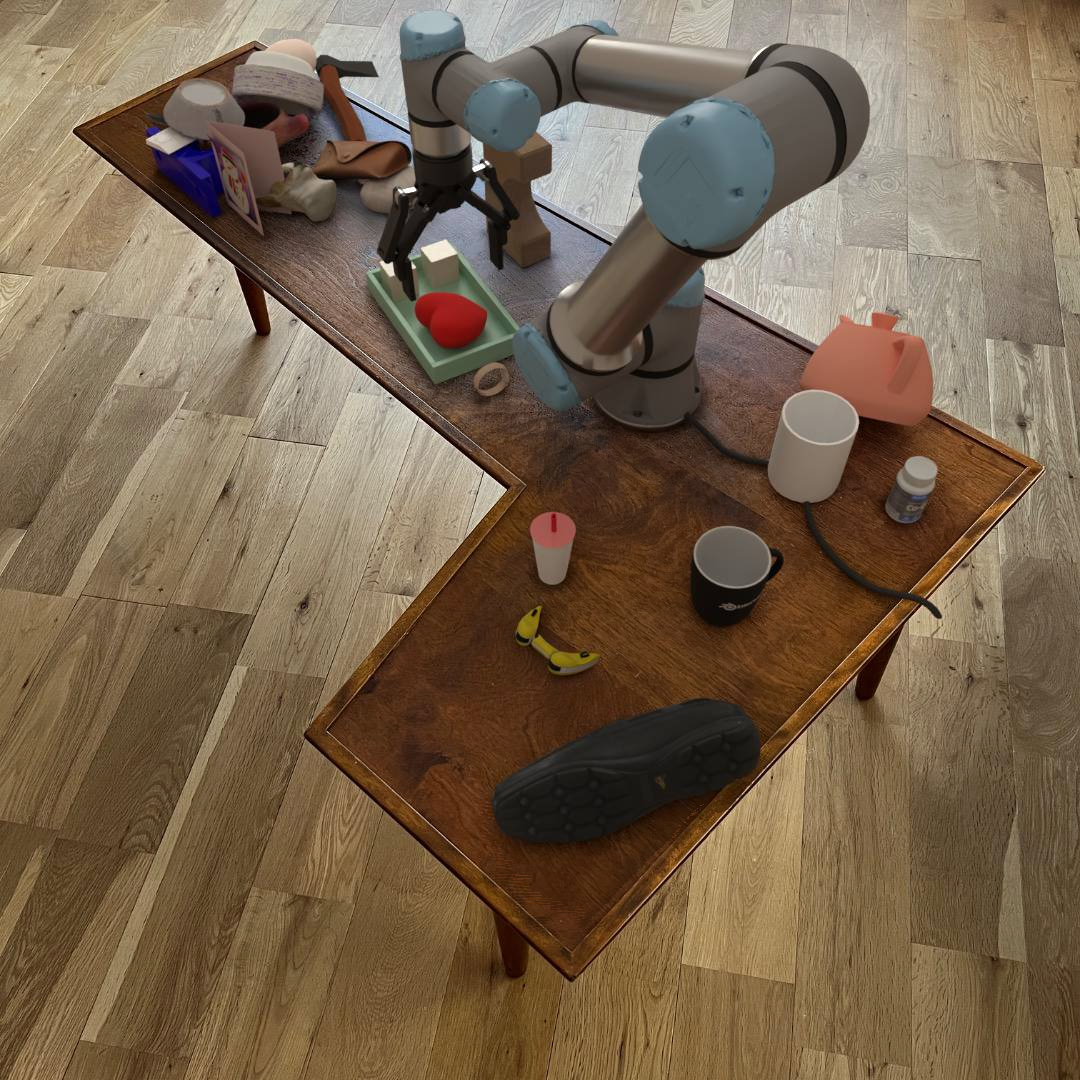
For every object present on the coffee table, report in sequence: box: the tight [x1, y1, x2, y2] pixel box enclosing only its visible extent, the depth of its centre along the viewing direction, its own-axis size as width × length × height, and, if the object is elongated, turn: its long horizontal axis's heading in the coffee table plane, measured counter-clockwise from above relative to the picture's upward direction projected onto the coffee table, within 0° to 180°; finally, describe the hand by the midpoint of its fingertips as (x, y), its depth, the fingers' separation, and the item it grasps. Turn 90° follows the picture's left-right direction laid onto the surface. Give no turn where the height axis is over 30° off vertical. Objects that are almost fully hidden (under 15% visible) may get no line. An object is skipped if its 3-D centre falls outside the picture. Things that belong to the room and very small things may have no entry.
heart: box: [415, 292, 487, 349], centre depth 159 cm, size 12×5×10 cm
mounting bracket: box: [145, 125, 225, 219], centre depth 181 cm, size 18×7×6 cm
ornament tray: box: [365, 242, 521, 385], centre depth 162 cm, size 24×15×3 cm, turn 29°
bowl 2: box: [239, 102, 310, 149], centre depth 186 cm, size 16×13×8 cm
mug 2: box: [767, 390, 860, 504], centre depth 141 cm, size 10×12×12 cm
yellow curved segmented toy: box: [514, 605, 601, 676], centre depth 127 cm, size 10×6×4 cm, turn 45°
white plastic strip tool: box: [145, 126, 195, 154], centre depth 180 cm, size 5×15×1 cm, turn 146°
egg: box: [264, 38, 317, 73], centre depth 198 cm, size 9×9×12 cm
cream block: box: [419, 239, 460, 289], centre depth 166 cm, size 4×4×5 cm
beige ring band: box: [473, 361, 511, 397], centre depth 152 cm, size 3×5×5 cm, turn 118°
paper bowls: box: [231, 50, 324, 117], centre depth 189 cm, size 15×15×8 cm
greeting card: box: [206, 121, 293, 237], centre depth 173 cm, size 11×7×15 cm, turn 40°
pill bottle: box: [884, 455, 939, 524], centre depth 138 cm, size 5×5×8 cm
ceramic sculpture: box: [253, 160, 337, 222], centre depth 177 cm, size 11×9×15 cm
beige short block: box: [378, 256, 419, 303], centre depth 164 cm, size 4×4×5 cm
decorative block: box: [482, 131, 553, 269], centre depth 166 cm, size 11×6×20 cm, turn 32°
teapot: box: [799, 311, 934, 427], centre depth 145 cm, size 25×17×13 cm
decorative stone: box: [359, 165, 418, 214], centre depth 178 cm, size 13×9×5 cm
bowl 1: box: [162, 77, 245, 141], centre depth 179 cm, size 13×13×5 cm
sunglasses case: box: [311, 139, 413, 180], centre depth 181 cm, size 18×7×7 cm
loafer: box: [491, 697, 762, 844], centre depth 116 cm, size 10×29×10 cm
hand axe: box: [315, 54, 380, 141], centre depth 197 cm, size 12×3×30 cm
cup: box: [529, 511, 577, 586], centre depth 131 cm, size 5×5×12 cm
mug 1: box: [689, 525, 785, 628], centre depth 129 cm, size 12×9×10 cm
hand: (453, 280), depth 153 cm, fingers open, 13 cm apart
